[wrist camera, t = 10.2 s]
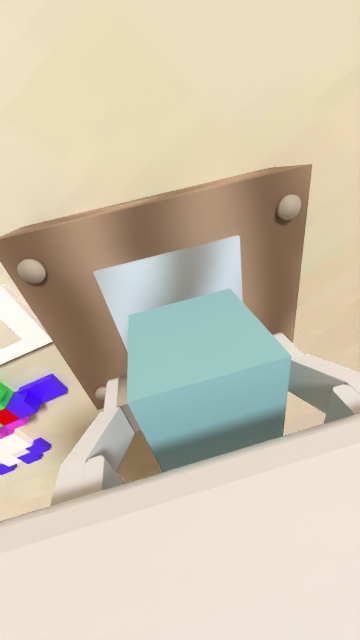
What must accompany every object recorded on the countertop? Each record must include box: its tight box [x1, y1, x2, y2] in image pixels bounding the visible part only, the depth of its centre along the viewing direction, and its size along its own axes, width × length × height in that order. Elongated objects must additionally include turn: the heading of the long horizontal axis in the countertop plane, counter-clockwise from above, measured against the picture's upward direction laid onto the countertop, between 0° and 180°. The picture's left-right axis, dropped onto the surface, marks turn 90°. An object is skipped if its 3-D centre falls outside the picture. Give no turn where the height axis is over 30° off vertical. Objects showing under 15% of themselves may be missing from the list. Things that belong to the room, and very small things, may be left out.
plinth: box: [0, 164, 312, 410], centre depth 16 cm, size 16×13×4 cm
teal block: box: [127, 288, 291, 472], centre depth 10 cm, size 5×5×5 cm
